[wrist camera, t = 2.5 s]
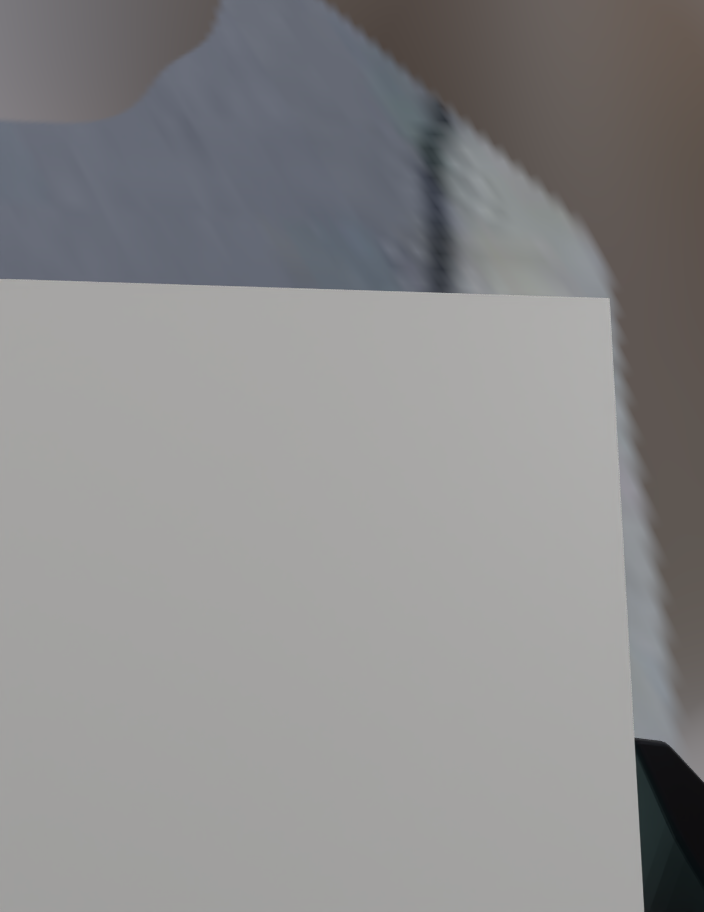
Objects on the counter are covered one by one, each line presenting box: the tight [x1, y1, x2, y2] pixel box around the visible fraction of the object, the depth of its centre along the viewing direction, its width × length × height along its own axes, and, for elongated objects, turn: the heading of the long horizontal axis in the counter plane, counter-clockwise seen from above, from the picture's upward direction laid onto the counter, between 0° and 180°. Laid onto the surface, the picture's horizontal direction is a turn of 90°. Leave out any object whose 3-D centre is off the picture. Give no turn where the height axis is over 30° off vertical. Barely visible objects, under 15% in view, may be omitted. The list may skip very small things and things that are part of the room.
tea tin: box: [0, 279, 644, 912], centre depth 11 cm, size 6×6×12 cm
